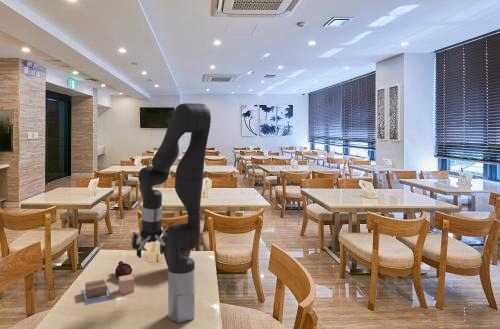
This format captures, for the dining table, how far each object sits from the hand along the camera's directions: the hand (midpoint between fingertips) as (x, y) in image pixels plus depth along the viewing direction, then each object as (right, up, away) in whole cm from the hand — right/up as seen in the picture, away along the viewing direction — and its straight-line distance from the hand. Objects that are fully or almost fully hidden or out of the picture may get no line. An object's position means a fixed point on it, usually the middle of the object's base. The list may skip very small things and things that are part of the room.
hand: (150, 255), depth 141 cm
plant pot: (+4, -15, +30) cm, 33 cm away
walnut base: (-22, -16, +2) cm, 28 cm away
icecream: (-17, -15, +19) cm, 30 cm away
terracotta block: (-11, -16, +5) cm, 21 cm away
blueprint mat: (-22, -16, +1) cm, 27 cm away
